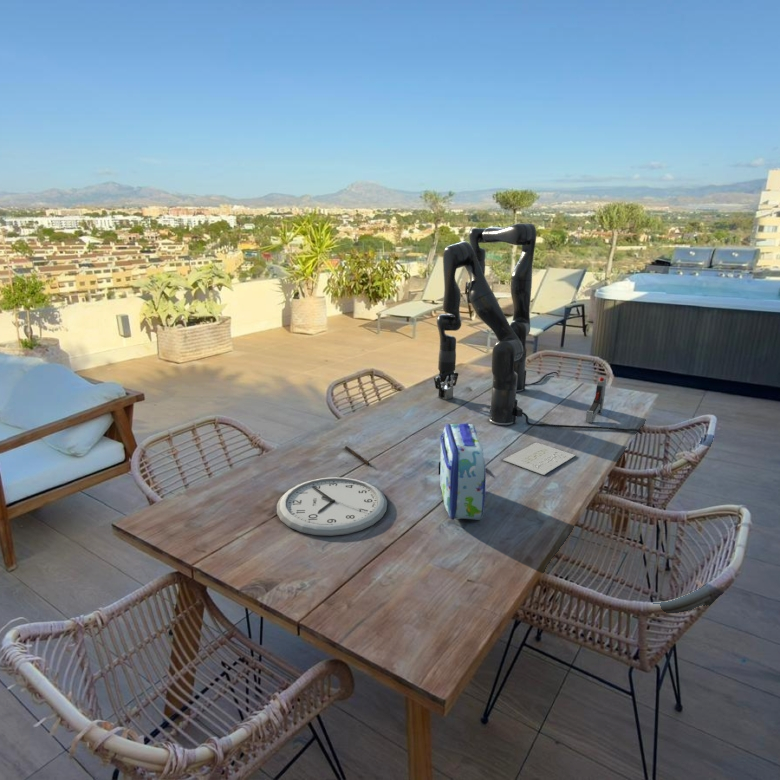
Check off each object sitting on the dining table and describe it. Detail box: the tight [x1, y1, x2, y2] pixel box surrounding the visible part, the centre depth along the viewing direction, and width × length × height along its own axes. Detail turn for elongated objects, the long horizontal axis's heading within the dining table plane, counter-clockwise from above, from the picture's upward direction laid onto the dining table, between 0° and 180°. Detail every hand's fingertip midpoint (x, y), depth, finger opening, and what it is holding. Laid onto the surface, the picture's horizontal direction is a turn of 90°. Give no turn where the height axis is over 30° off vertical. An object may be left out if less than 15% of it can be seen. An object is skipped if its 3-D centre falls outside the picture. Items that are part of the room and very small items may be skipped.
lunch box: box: [438, 422, 486, 521], centre depth 142 cm, size 26×11×21 cm, turn 179°
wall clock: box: [276, 476, 388, 537], centre depth 142 cm, size 30×2×30 cm
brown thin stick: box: [344, 445, 370, 465], centre depth 173 cm, size 15×1×1 cm, turn 34°
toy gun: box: [585, 376, 607, 424], centre depth 210 cm, size 2×16×15 cm
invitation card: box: [502, 442, 577, 476], centre depth 174 cm, size 21×1×15 cm
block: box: [437, 384, 454, 401], centre depth 234 cm, size 5×4×5 cm
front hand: (445, 396), depth 235 cm, fingers closed on block, 4 cm apart
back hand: (475, 302), depth 266 cm, fingers open, 8 cm apart
